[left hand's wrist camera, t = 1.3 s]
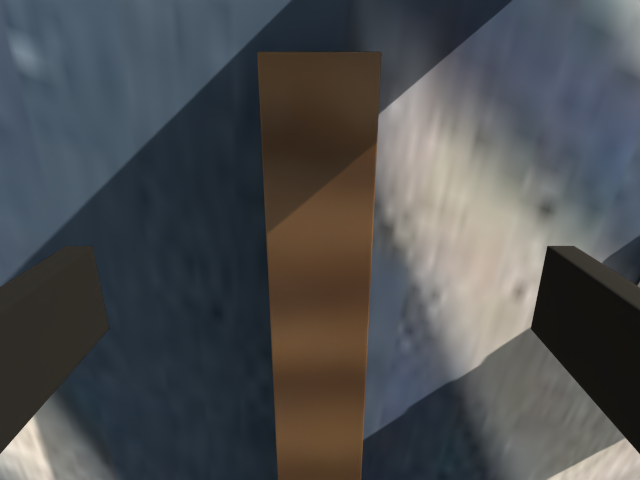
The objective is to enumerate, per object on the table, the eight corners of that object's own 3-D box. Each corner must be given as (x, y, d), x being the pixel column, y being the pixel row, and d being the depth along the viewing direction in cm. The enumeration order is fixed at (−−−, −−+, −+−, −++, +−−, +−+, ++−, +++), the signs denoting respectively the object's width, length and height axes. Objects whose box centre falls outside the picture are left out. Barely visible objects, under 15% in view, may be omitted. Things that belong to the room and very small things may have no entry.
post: (274, 60, 26) (256, 51, 19) (364, 60, 26) (381, 51, 19) (293, 591, 44) (288, 692, 37) (345, 591, 44) (351, 691, 37)
